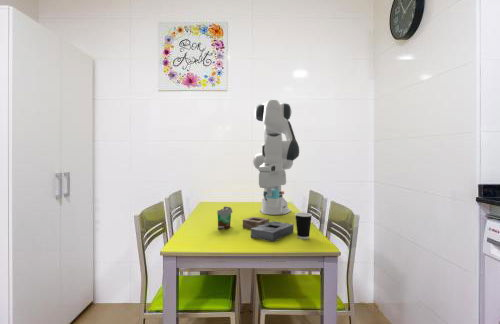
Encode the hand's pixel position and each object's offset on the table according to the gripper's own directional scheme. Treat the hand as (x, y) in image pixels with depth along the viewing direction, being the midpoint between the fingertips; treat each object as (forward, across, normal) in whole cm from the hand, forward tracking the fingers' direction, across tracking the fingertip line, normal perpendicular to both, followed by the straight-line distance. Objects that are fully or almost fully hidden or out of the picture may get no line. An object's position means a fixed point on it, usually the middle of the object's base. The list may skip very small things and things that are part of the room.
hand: (273, 195), depth 148 cm
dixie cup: (+19, -4, +14) cm, 24 cm away
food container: (+19, +2, -27) cm, 33 cm away
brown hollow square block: (+19, -8, -15) cm, 25 cm away
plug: (+5, 0, 0) cm, 5 cm away
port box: (+19, 0, 0) cm, 19 cm away
